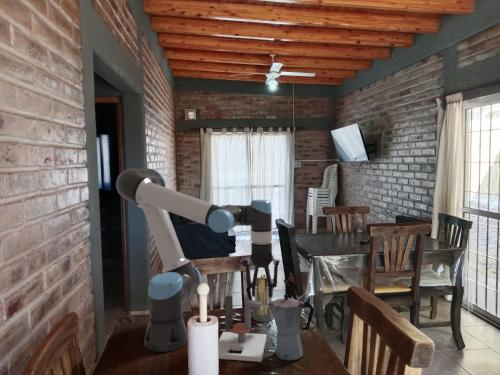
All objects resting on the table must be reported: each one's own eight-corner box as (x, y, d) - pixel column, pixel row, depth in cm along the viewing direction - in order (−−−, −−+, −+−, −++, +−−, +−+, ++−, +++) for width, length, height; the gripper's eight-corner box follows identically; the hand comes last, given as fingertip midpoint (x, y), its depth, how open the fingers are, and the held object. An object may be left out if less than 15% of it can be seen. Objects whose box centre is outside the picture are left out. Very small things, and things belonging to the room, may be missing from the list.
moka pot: (268, 345, 123) (268, 288, 123) (313, 349, 121) (314, 291, 120) (265, 360, 114) (265, 298, 113) (314, 364, 112) (314, 301, 111)
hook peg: (256, 315, 129) (256, 277, 129) (258, 311, 133) (257, 274, 133) (266, 315, 129) (266, 277, 128) (267, 311, 133) (267, 274, 132)
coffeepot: (267, 310, 155) (267, 269, 154) (282, 316, 148) (282, 274, 147) (239, 319, 145) (239, 276, 145) (254, 327, 138) (254, 281, 137)
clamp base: (212, 358, 115) (212, 353, 115) (223, 335, 131) (223, 331, 131) (261, 361, 113) (261, 357, 113) (266, 338, 129) (266, 334, 129)
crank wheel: (264, 341, 123) (264, 299, 122) (257, 349, 117) (257, 305, 117) (230, 333, 129) (229, 293, 128) (221, 340, 124) (221, 299, 123)
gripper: (284, 240, 132) (285, 302, 133) (240, 239, 135) (241, 300, 136) (283, 244, 125) (284, 310, 126) (237, 243, 128) (238, 308, 129)
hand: (262, 305), depth 131 cm, fingers closed on hook peg, 3 cm apart
